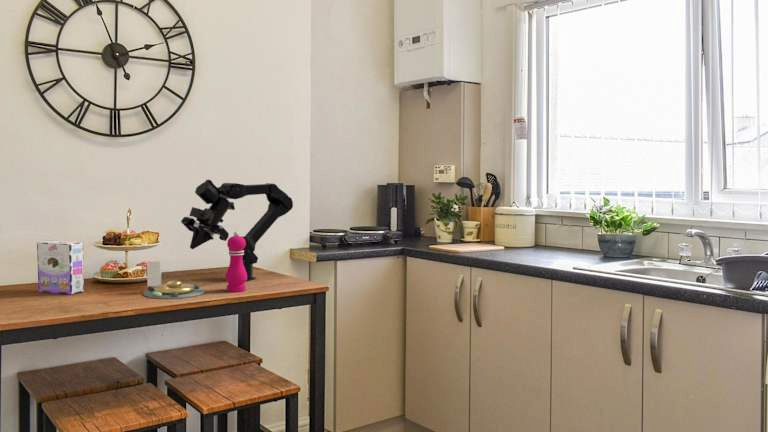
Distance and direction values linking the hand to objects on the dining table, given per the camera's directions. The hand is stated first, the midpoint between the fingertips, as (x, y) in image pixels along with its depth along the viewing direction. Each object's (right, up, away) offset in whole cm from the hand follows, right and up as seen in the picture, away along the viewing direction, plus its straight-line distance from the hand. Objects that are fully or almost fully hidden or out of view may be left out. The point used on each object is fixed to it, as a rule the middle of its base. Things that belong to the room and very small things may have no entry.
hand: (191, 248), depth 229 cm
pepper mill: (+16, -14, -4) cm, 22 cm away
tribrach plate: (-2, -14, -11) cm, 18 cm away
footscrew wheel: (-4, -13, -11) cm, 17 cm away
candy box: (-39, -14, -12) cm, 43 cm away
